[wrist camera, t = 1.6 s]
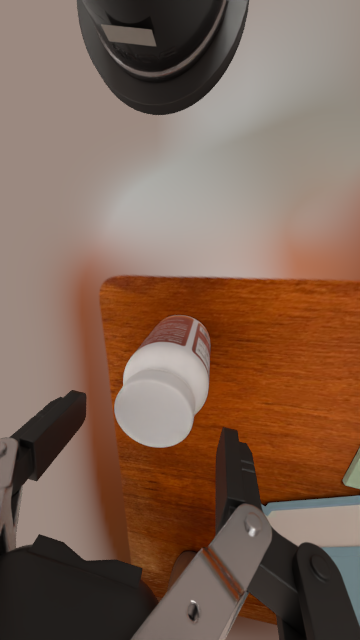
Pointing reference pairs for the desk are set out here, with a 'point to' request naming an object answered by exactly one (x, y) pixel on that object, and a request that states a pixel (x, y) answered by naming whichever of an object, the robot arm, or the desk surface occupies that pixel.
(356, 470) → the mat
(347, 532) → the book
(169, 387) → the pill bottle
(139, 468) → the desk surface
